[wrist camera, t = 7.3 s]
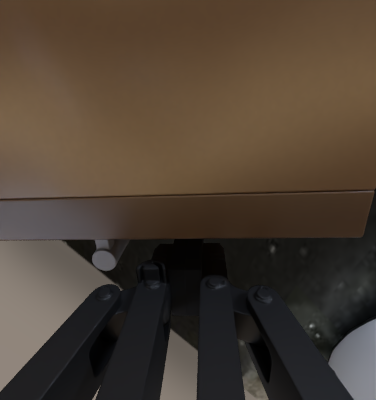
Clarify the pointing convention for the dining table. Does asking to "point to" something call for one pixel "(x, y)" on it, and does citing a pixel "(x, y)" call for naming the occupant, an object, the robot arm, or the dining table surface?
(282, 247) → the dining table surface
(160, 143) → the cabinet
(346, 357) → the doce de leite tub
